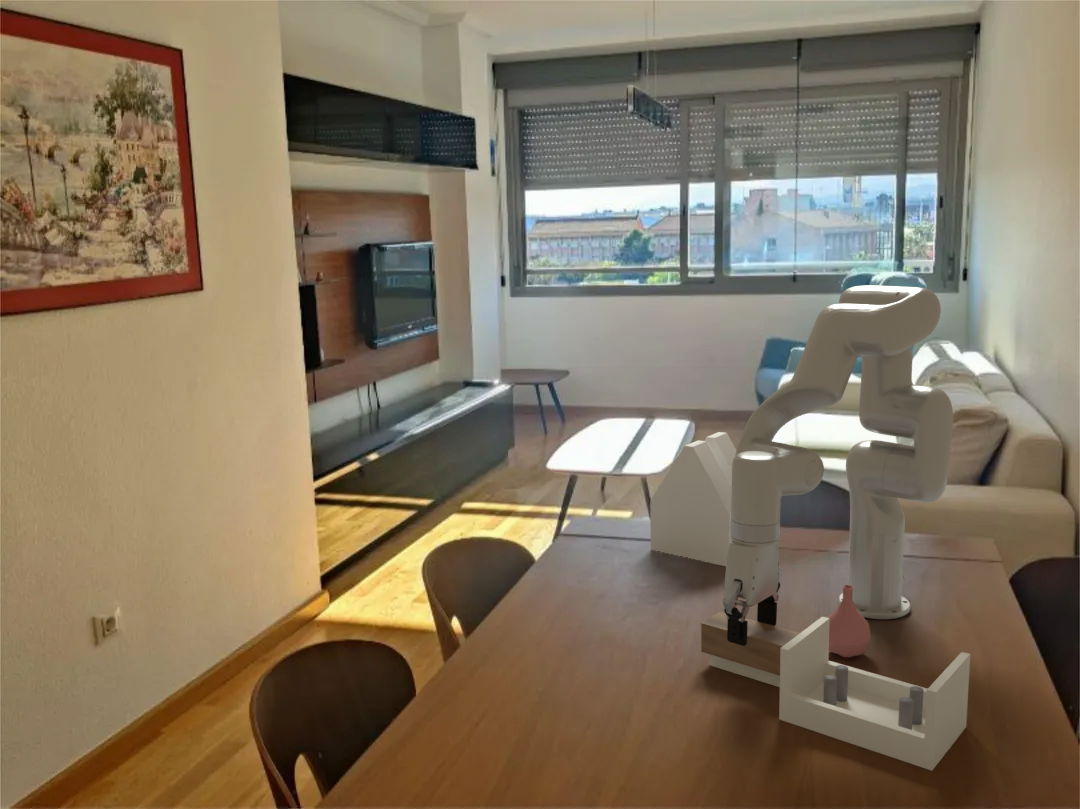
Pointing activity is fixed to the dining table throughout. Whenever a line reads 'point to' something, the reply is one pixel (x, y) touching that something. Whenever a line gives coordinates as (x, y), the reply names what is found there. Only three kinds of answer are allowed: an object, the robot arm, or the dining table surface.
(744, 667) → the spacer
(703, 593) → the dining table surface
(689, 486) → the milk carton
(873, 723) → the stand
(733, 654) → the brown wooden block
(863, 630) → the pink vase
